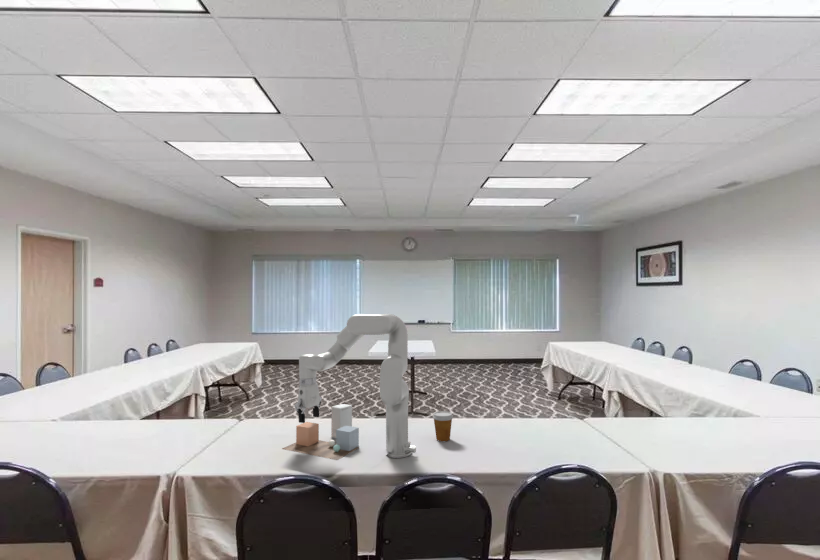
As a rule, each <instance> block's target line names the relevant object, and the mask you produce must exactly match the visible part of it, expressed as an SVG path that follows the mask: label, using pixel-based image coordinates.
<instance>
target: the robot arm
mask: <svg viewBox="0 0 820 560" xmlns="http://www.w3.org/2000/svg"><path fill="white" fill-rule="evenodd" d="M408 334H409V333H408V327H407V325H406V323H405V322H404V321H403V320H402V319H401V318H400V317H399V316H397V315H394V314H391V313H384V314H365V313H357V314H353V315H351V316H350V317H349V318H348V319H347V322H346V325H345V327H343V328H342V330H340V332H338V334H337V335H336V341H335V342H334V344H333V345H332V346H331V347H330V348H329V349H328V350H327V351H326V352H323V353H320V354H314V353H306V354H300V356H299V357H298V368H299V369H298V370H299V371H298V374H299V383H298V384H299V386H298V396H297V402H296V403H295V404H294V408H295V412H296V413H297V414H298V423H300V424H303V423H305V422H306V414H305V412H306V409H307V410H308V409H311V408H312V417H313V418H319V417H320V408H321V403H322V400H323V399H322V395H321V396H320V388H319V384H318V382H317V372H324V371H327V370H328V369H332V368H333V367H335V366H336V365H337V364H338V363H339V362H340V361H341V360H342V359H343V358H344V357H345V356H346V355H347V354H348V352H349V351H350V350H351V349H352V348H353V346H355V344H356V343H358V341H359V340H361V339H362V338H363V337H364V336H368V335H369V336H372V335H373V336H382V335H383V336H384V335H388V344H387V345H388V346H387V357H386V358H384V359H383V361H382V363H381V365H380V372H379V397H380V399H381V402H382V403H383V404H384V405H385V440H386V441H385V444H386V445H385V450H386V452H387V454H386V455H385V457H387V458H391V459H403V458H406V457H409V456H411V454H414V453H415V454H416V453H417V447H416V446H415V445H411V441H409V399H410V398H409V397H410V390H409V389H410V388H409V385H408V383H407V382H406V381H405V380H404V379H403V375H404V374H405V373H406V372H407V370H408V356H409V355H408V354H409V353H408V352H409V351H408V349H409V348H408V340H409V337H408V336H409V335H408Z"/></svg>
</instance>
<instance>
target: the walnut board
mask: <svg viewBox="0 0 820 560" xmlns="http://www.w3.org/2000/svg"><path fill="white" fill-rule="evenodd" d="M328 442H329V441H327V440H326V441H325V440H319V442H317V443H314V444H312V445H310V446H304V445H299V444H296V442H294V443H292V444H289V445H288V446H285V447H282V448H281V450H286V451H289V452H290V451H291V452H295V453H301V454H306V455H311V456H315V457H321V458H325V459H329V460H334V461H339V460H340V459H342V458H344V457H345V456H348V455H349V454H351V453H353V452H354V451H356V450H359V449H360V447H359V446H358V447H356V448H354V449H352V450H351V451H346V450H341V449H340V451H338V452H335V451H334V450H333V447H334V446H335V445H336V442H335V445H334V446H333V447H330V446H329V445H328Z"/></svg>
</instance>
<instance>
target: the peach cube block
mask: <svg viewBox="0 0 820 560" xmlns="http://www.w3.org/2000/svg"><path fill="white" fill-rule="evenodd" d="M295 428H296V430H295V431H296V435H295V437H296V438H295V441H296V442H295V443H296V444H299V445H304V446H310V445H312V444H314V443H317V442H319V436H320V434H319V429H320V425H319V423H316V422H309V421H305V423H300V424H298V425H296V427H295Z"/></svg>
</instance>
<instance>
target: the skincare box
mask: <svg viewBox="0 0 820 560" xmlns="http://www.w3.org/2000/svg"><path fill="white" fill-rule="evenodd" d="M344 426H351V427H353V405H352V404H347V403H346V404H345V403H341V404H337V405H332V406H331V435H330V436H331V438H334V439H336V430H337V429H339V428H342V427H344Z"/></svg>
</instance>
